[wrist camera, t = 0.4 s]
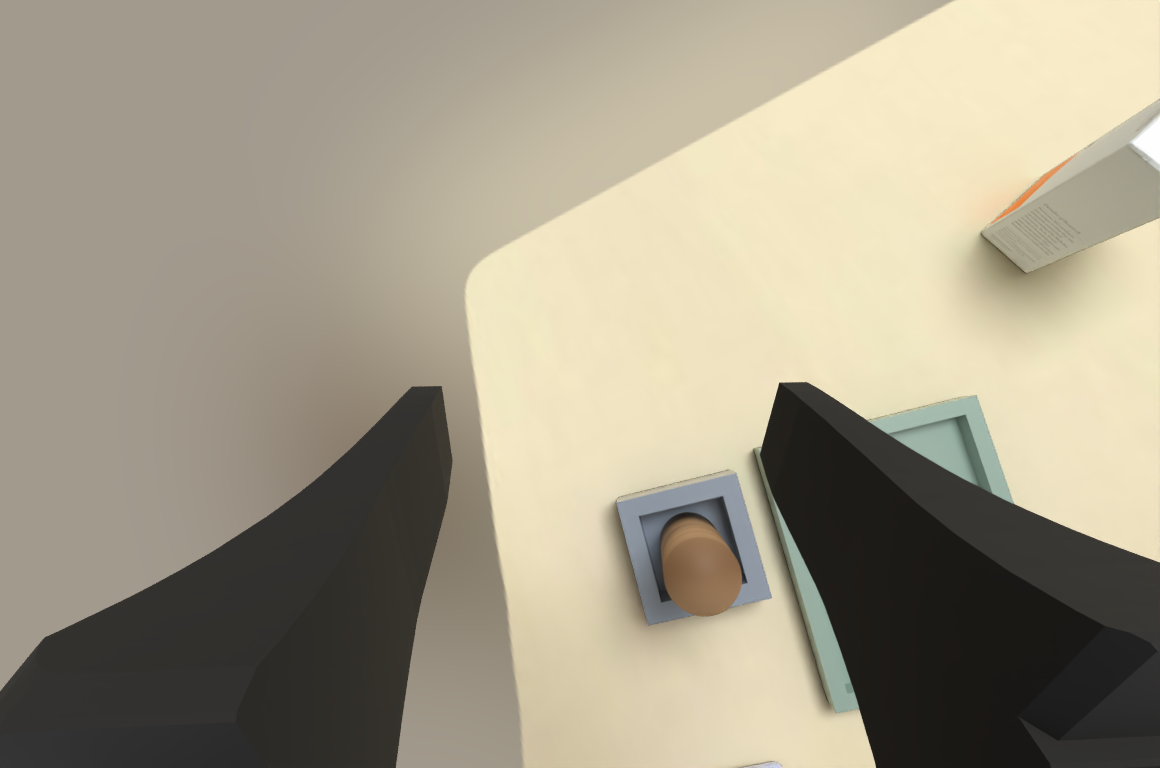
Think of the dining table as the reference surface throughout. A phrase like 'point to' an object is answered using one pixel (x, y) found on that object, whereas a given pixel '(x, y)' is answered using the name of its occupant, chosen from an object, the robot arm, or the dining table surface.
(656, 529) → the grey square recessed block
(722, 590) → the dowel
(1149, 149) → the skincare box
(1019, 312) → the dining table surface
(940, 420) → the tray
